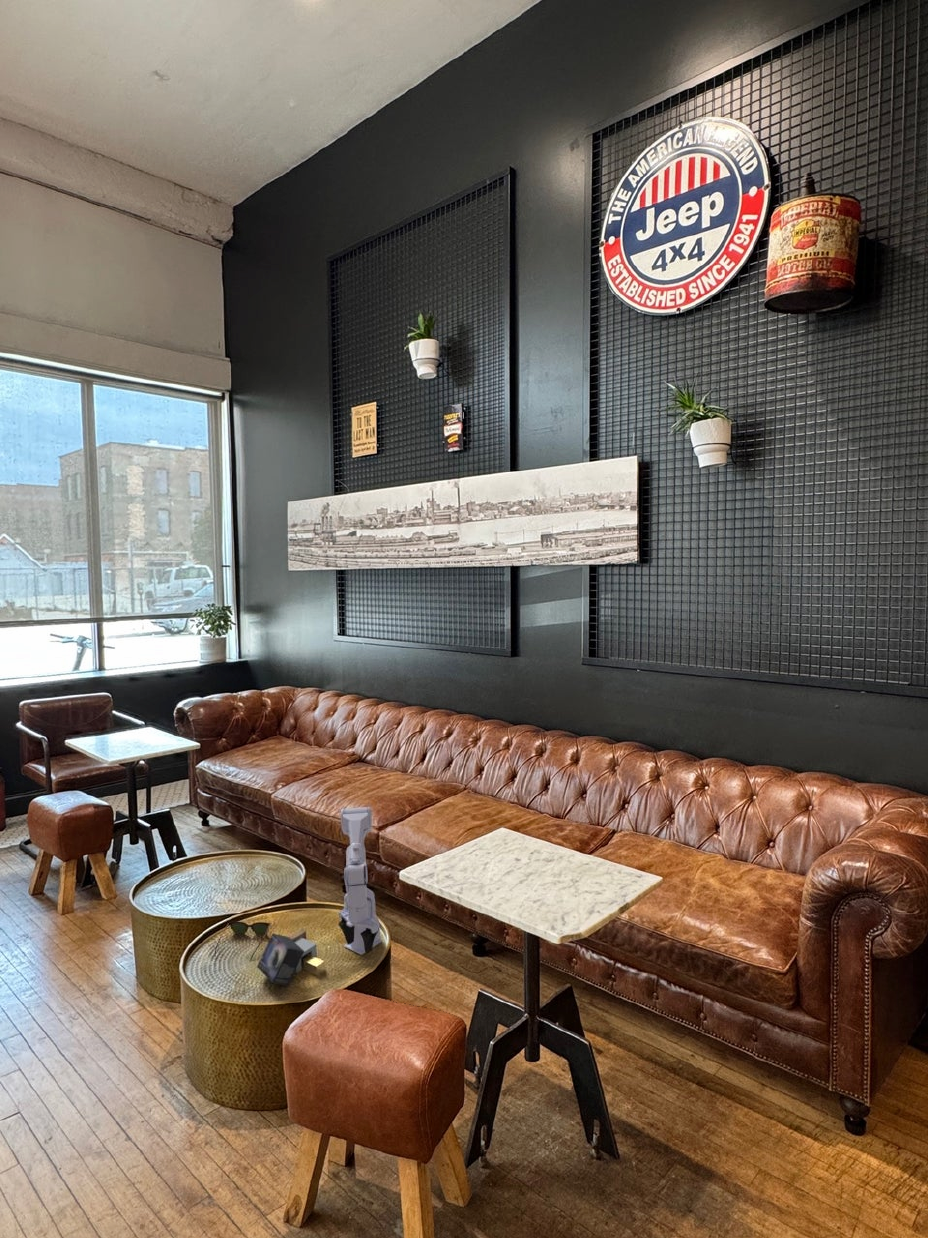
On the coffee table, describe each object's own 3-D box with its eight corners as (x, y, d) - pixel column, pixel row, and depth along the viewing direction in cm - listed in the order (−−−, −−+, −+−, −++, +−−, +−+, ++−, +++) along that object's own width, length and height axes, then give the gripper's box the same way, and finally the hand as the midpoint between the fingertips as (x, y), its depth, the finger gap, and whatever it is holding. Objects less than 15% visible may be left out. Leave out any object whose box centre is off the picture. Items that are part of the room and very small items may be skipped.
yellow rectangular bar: (302, 960, 227) (301, 950, 227) (324, 971, 222) (324, 961, 221) (294, 965, 225) (293, 956, 224) (317, 976, 219) (316, 966, 219)
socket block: (301, 952, 231) (300, 937, 231) (317, 959, 227) (316, 944, 227) (280, 965, 224) (279, 950, 224) (296, 973, 220) (295, 957, 220)
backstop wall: (302, 946, 234) (301, 929, 233) (306, 949, 233) (305, 931, 232) (269, 967, 224) (268, 948, 223) (273, 969, 223) (272, 951, 222)
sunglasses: (271, 935, 242) (270, 922, 241) (254, 966, 227) (253, 952, 226) (230, 934, 243) (228, 921, 242) (210, 964, 229) (208, 950, 228)
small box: (255, 966, 218) (271, 932, 221) (272, 970, 222) (288, 936, 225) (271, 983, 210) (288, 947, 213) (289, 986, 214) (305, 951, 217)
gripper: (330, 902, 215) (332, 945, 217) (365, 918, 207) (367, 962, 208) (347, 892, 221) (350, 934, 223) (382, 907, 212) (384, 950, 214)
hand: (359, 947), depth 216 cm, fingers open, 7 cm apart
